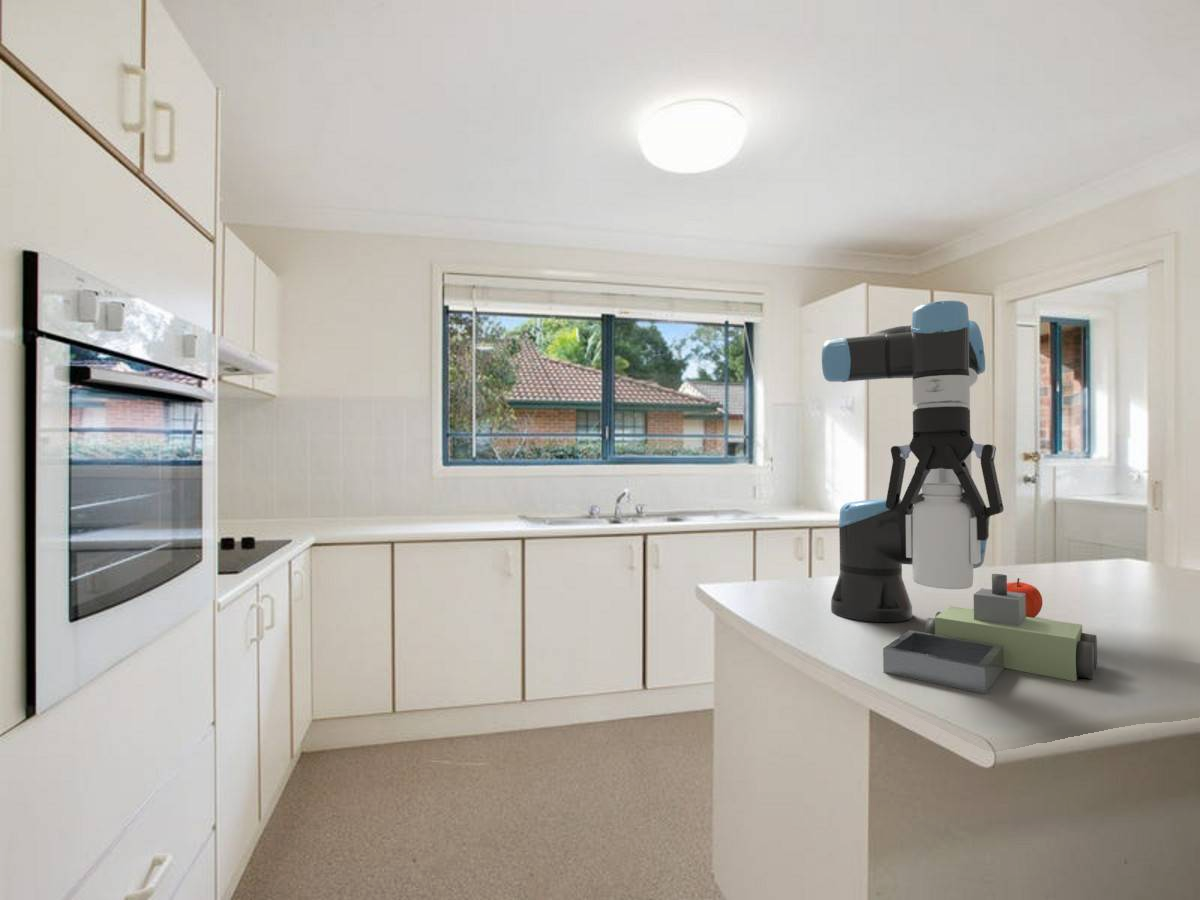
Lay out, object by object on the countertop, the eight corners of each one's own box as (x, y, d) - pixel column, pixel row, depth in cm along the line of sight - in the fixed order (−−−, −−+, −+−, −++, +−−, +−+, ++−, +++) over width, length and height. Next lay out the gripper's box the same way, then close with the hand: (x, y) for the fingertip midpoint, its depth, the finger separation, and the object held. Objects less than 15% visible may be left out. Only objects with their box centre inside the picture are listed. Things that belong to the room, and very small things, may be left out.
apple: (1045, 618, 122) (1044, 577, 122) (1040, 626, 116) (1039, 583, 116) (998, 611, 128) (997, 572, 128) (990, 619, 122) (990, 578, 122)
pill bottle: (948, 592, 87) (947, 485, 87) (900, 582, 94) (899, 483, 95) (986, 587, 90) (985, 484, 90) (937, 578, 97) (936, 482, 98)
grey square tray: (883, 672, 92) (883, 648, 92) (910, 651, 101) (909, 630, 101) (985, 694, 83) (984, 667, 83) (1003, 669, 93) (1003, 646, 93)
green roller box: (923, 652, 101) (922, 572, 101) (941, 637, 109) (940, 563, 109) (1091, 684, 86) (1089, 590, 87) (1097, 664, 95) (1096, 579, 95)
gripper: (860, 409, 97) (862, 555, 97) (1019, 400, 83) (1021, 571, 83) (877, 412, 102) (878, 550, 102) (1028, 404, 88) (1030, 564, 88)
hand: (942, 559), depth 92 cm, fingers closed on pill bottle, 8 cm apart
